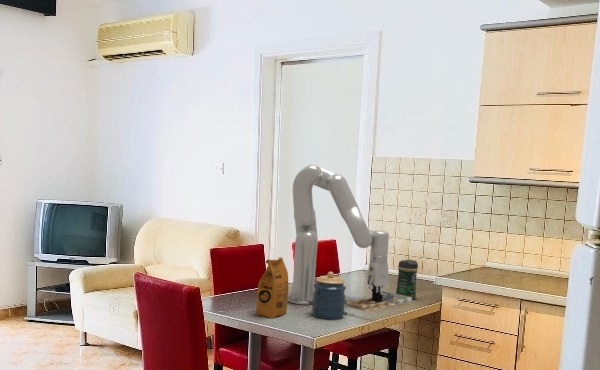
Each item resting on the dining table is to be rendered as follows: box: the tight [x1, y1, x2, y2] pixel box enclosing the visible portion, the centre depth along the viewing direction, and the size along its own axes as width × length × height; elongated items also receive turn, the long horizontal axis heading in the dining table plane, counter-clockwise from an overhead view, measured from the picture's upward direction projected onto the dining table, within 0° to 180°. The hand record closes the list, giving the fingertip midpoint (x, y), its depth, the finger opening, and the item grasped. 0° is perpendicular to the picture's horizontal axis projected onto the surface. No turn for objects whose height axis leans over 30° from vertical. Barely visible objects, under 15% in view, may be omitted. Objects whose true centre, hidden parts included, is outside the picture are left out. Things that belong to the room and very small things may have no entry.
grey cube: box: [381, 290, 395, 303], centre depth 250 cm, size 4×4×4 cm
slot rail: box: [344, 292, 414, 312], centre depth 246 cm, size 36×12×3 cm, turn 137°
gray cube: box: [376, 291, 388, 303], centre depth 246 cm, size 4×4×4 cm
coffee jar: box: [395, 259, 419, 300], centre depth 265 cm, size 10×8×19 cm
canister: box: [311, 271, 347, 320], centre depth 223 cm, size 13×13×18 cm
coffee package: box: [255, 256, 289, 319], centre depth 219 cm, size 10×12×22 cm
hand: (375, 301), depth 243 cm, fingers closed
